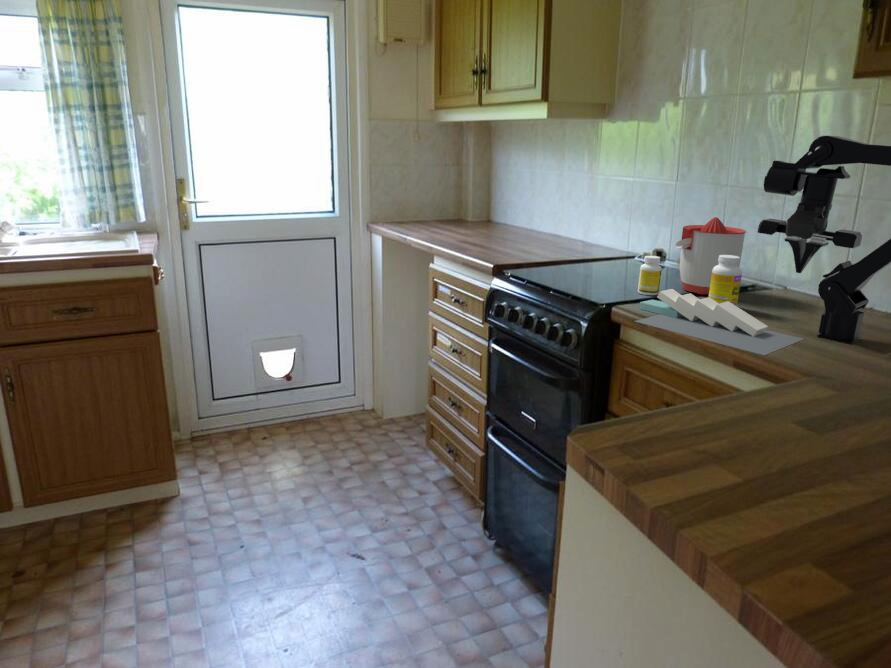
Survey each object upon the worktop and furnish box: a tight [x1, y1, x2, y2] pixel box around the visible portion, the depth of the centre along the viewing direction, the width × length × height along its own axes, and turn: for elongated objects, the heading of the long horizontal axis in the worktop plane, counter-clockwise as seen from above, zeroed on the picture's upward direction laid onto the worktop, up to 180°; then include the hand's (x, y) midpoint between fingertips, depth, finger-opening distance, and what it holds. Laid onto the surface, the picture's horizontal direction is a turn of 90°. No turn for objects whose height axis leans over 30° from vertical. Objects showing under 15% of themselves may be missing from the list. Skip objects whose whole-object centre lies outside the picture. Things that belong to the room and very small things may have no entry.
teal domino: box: [639, 299, 683, 318], centre depth 154 cm, size 2×5×10 cm
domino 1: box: [656, 288, 700, 321], centre depth 151 cm, size 2×5×10 cm
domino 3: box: [694, 296, 741, 331], centre depth 144 cm, size 2×5×10 cm
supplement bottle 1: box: [637, 255, 663, 296], centre depth 173 cm, size 5×5×10 cm
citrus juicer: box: [675, 216, 747, 296], centre depth 176 cm, size 16×17×20 cm
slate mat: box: [633, 314, 805, 356], centre depth 141 cm, size 29×18×1 cm, turn 40°
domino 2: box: [676, 292, 720, 327], centre depth 147 cm, size 2×5×10 cm
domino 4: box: [713, 301, 769, 337], centre depth 140 cm, size 2×5×10 cm
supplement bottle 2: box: [708, 255, 743, 307], centre depth 158 cm, size 7×7×13 cm
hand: (798, 272), depth 141 cm, fingers closed
